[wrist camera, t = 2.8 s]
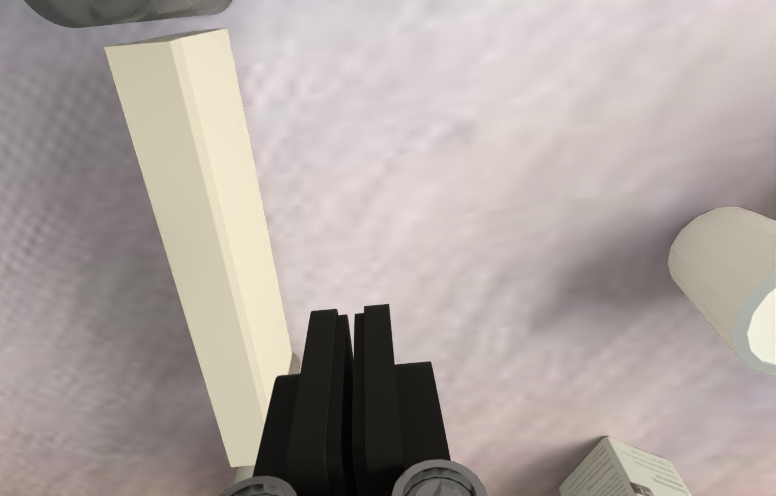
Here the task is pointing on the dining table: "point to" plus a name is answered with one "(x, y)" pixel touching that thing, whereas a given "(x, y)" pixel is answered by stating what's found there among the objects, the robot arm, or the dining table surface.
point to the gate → (209, 221)
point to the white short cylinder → (732, 279)
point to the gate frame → (121, 10)
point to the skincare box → (623, 473)
